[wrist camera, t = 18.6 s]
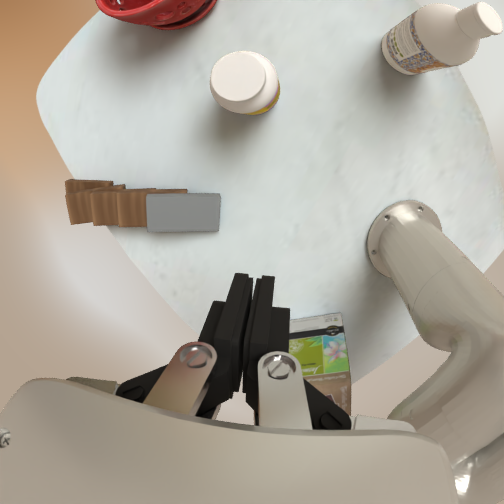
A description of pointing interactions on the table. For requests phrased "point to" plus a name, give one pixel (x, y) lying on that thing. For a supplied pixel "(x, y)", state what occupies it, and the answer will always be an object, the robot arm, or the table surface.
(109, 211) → the domino
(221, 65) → the supplement bottle
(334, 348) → the tea box
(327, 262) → the table surface
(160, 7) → the plant pot
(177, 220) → the head domino
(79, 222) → the domino
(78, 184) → the domino
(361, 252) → the table surface
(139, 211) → the domino
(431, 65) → the bath foam
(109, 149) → the table surface
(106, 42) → the table surface
